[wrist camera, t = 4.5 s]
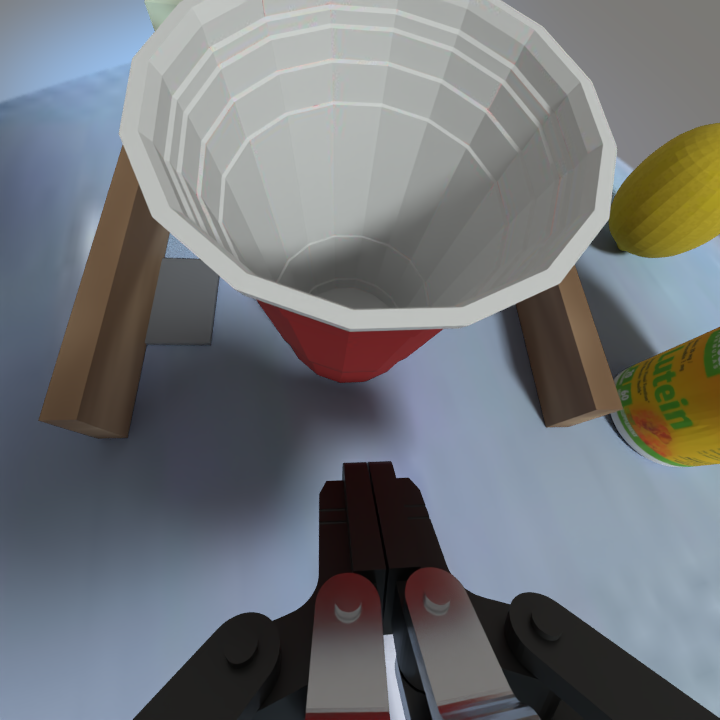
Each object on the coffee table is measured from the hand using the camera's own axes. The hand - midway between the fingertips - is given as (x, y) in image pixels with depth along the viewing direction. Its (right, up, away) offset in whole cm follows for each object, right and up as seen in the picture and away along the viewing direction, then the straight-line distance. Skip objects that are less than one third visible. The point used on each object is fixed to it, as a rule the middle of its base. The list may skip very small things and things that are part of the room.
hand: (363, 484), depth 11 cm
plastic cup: (-1, +5, +8) cm, 9 cm away
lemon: (+17, +11, +12) cm, 23 cm away
